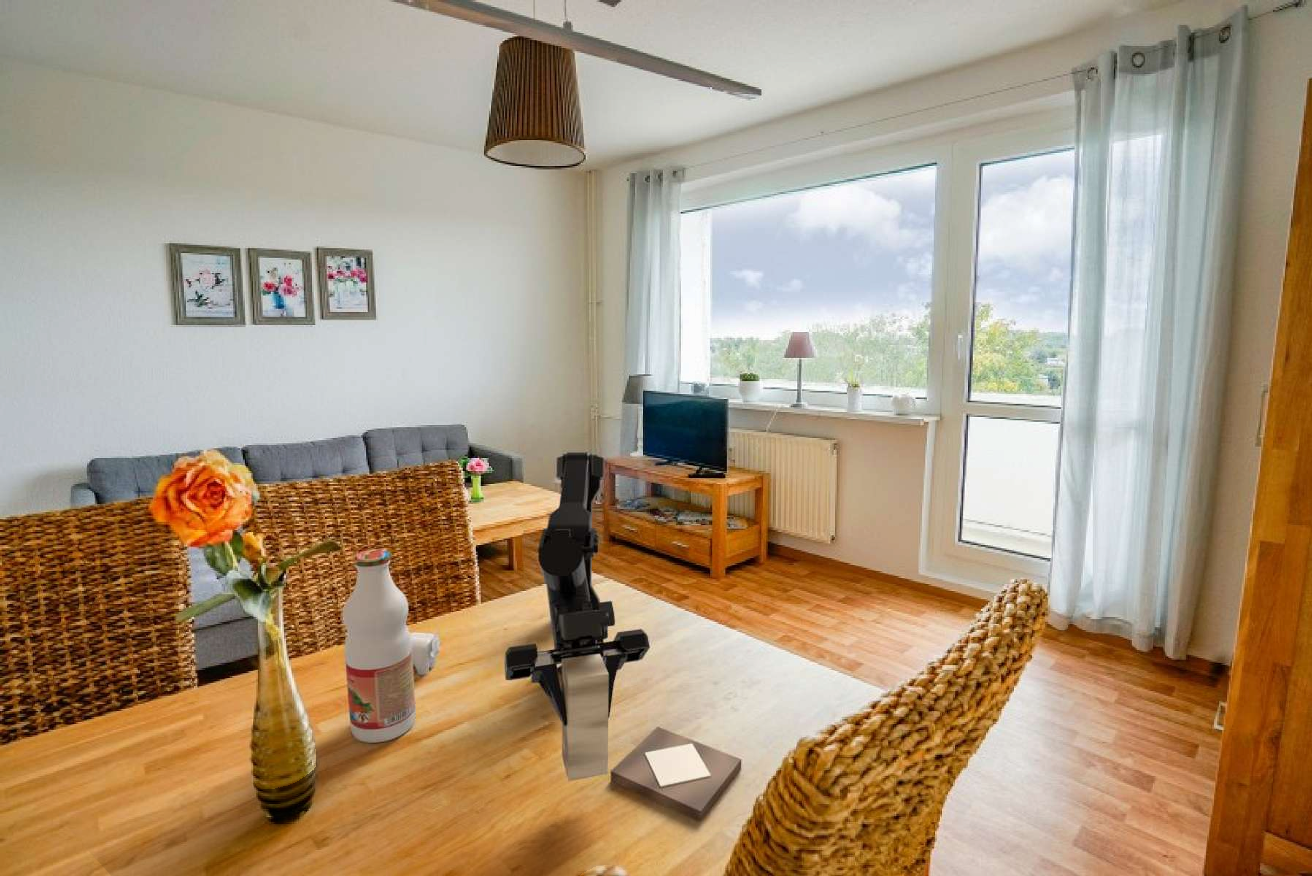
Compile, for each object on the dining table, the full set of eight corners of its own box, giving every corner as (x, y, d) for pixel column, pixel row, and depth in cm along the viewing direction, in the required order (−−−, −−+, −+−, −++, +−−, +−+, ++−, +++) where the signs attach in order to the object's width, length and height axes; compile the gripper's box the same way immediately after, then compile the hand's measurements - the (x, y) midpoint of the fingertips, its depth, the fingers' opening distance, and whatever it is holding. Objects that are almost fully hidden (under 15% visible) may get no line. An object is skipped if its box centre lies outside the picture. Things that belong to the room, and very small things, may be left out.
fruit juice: (413, 739, 100) (402, 562, 95) (345, 749, 97) (330, 568, 93) (418, 704, 109) (408, 541, 104) (356, 713, 106) (343, 546, 101)
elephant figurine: (453, 655, 125) (452, 620, 124) (427, 682, 116) (425, 644, 114) (416, 651, 126) (414, 616, 125) (387, 678, 117) (384, 640, 116)
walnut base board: (610, 780, 91) (610, 769, 91) (657, 735, 101) (657, 725, 101) (700, 821, 84) (700, 809, 83) (741, 768, 94) (741, 758, 93)
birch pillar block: (562, 755, 88) (561, 659, 85) (598, 749, 89) (599, 653, 87) (568, 781, 83) (568, 679, 81) (607, 773, 85) (608, 673, 82)
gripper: (503, 588, 83) (514, 719, 75) (646, 573, 88) (671, 692, 80) (500, 620, 92) (510, 740, 83) (630, 604, 97) (652, 715, 89)
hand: (586, 721), depth 84 cm, fingers closed on birch pillar block, 5 cm apart
